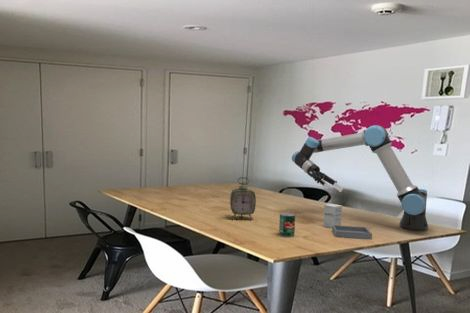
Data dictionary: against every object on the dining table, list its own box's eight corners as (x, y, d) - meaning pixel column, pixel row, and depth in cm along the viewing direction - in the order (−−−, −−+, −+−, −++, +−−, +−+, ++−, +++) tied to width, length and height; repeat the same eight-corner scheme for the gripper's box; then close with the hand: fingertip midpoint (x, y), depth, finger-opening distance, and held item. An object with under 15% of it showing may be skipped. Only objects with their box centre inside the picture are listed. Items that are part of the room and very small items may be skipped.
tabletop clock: (230, 220, 239) (232, 177, 238) (229, 217, 248) (230, 176, 247) (254, 220, 241) (256, 178, 239) (252, 217, 250) (254, 176, 248)
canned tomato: (284, 232, 215) (285, 211, 215) (297, 235, 210) (298, 214, 210) (275, 235, 209) (276, 213, 209) (289, 238, 204) (290, 216, 204)
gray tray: (365, 232, 222) (366, 227, 222) (371, 239, 208) (372, 233, 208) (332, 230, 224) (332, 225, 224) (335, 237, 210) (335, 231, 210)
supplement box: (322, 226, 233) (323, 204, 232) (329, 224, 238) (331, 203, 237) (334, 229, 228) (335, 206, 227) (341, 227, 233) (342, 205, 232)
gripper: (319, 177, 257) (343, 196, 243) (295, 171, 240) (319, 191, 226) (326, 167, 255) (350, 186, 241) (302, 160, 238) (326, 180, 224)
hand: (335, 189), depth 233 cm, fingers open, 13 cm apart
